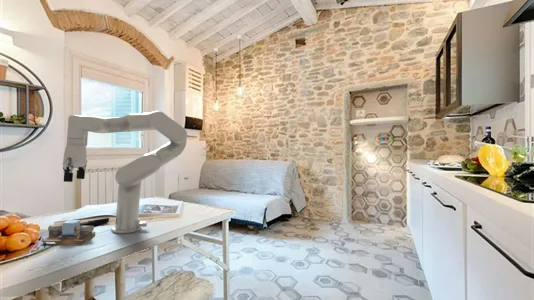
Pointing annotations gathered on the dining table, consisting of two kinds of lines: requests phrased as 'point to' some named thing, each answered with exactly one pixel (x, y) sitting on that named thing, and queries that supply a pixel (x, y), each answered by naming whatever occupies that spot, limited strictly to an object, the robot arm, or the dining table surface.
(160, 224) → the dining table surface
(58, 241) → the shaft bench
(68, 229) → the blue grey block
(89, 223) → the electric trimmer
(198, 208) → the dining table surface
